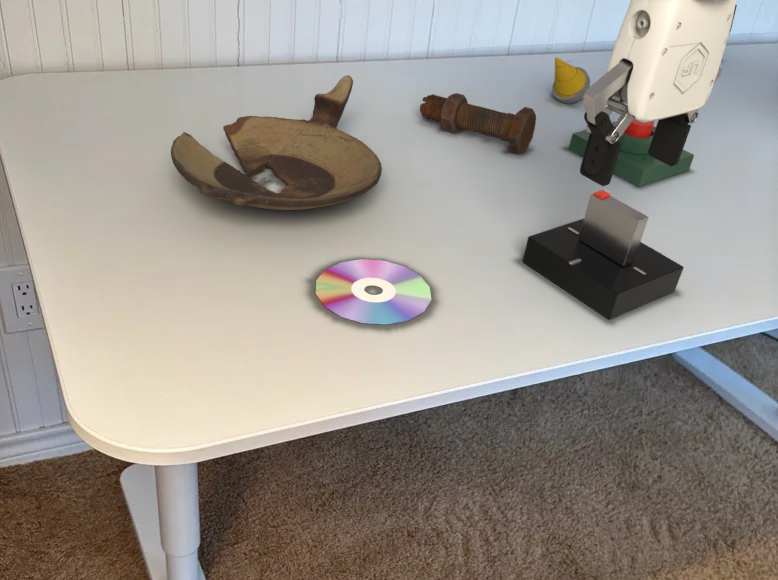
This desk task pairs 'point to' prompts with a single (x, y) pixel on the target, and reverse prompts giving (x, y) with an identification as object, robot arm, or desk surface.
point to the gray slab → (612, 228)
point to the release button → (640, 128)
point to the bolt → (481, 120)
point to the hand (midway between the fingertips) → (628, 169)
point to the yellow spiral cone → (569, 82)
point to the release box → (636, 158)
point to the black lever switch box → (600, 271)
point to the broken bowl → (285, 159)
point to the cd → (395, 304)
